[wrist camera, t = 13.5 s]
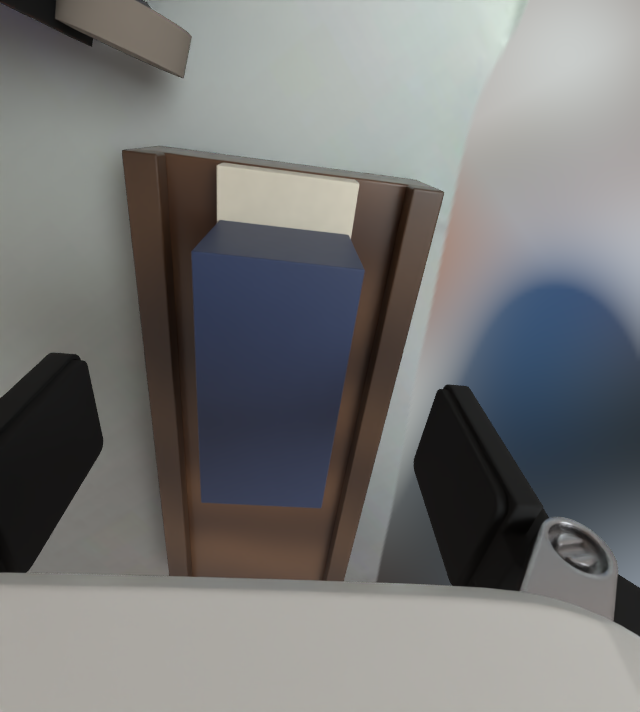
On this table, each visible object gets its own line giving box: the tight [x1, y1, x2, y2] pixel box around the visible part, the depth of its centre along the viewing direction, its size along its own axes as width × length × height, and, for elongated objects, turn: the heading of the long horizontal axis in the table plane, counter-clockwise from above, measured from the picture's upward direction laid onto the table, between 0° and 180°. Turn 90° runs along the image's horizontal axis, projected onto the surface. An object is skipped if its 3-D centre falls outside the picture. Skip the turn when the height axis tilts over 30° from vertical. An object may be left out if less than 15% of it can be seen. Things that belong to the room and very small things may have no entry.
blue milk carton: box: [191, 163, 365, 508], centre depth 15 cm, size 12×5×6 cm, turn 173°
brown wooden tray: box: [122, 146, 444, 581], centre depth 22 cm, size 28×11×4 cm, turn 173°
